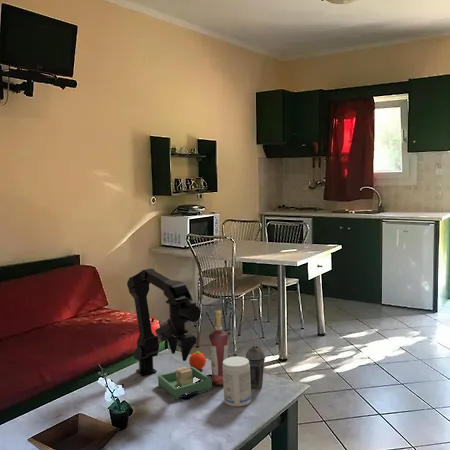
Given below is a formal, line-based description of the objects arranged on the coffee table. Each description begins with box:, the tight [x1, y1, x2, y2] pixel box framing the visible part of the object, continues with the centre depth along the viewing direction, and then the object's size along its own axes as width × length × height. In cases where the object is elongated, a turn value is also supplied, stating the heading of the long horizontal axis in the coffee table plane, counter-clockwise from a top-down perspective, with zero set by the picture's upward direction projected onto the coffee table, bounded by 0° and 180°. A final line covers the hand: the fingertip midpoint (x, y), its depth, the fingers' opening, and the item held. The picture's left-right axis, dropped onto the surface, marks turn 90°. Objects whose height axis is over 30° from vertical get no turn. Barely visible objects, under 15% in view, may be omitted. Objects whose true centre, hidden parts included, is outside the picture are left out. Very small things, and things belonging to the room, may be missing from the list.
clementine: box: [188, 350, 207, 371], centre depth 211 cm, size 8×7×7 cm
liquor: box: [208, 310, 229, 386], centre depth 195 cm, size 7×7×28 cm
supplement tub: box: [222, 356, 252, 408], centre depth 179 cm, size 10×10×15 cm
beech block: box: [175, 366, 193, 387], centre depth 193 cm, size 4×4×6 cm
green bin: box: [157, 366, 213, 401], centre depth 193 cm, size 15×15×4 cm
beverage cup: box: [245, 335, 266, 391], centre depth 190 cm, size 7×7×20 cm
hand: (178, 357), depth 192 cm, fingers open, 9 cm apart
